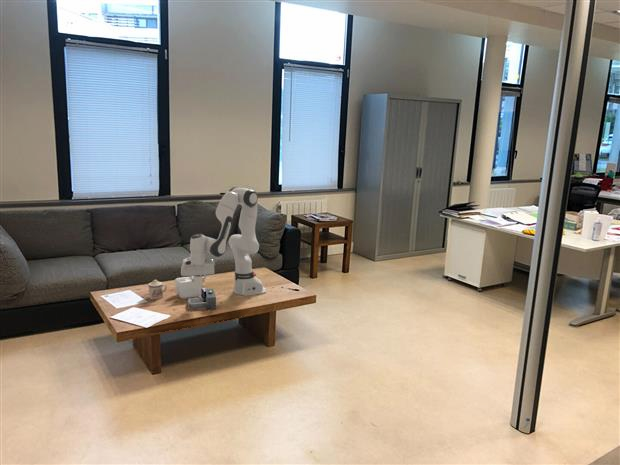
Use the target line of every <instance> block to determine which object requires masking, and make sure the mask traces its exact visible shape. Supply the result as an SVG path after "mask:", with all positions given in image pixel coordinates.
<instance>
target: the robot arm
mask: <svg viewBox="0 0 620 465" xmlns="http://www.w3.org/2000/svg"><path fill="white" fill-rule="evenodd" d="M238 205H241V210H240V215H239V221H238V229H239V230H240V233H241V234H239V233H237V234H236V233H235V234H232V235H231V231H232V229H233V224H234V220H233V218H234V214H235V212H236V210H237V207H238ZM215 216H216V218H217V220H218V221H219V222H220V224H221V228H220V231H219V234H218V237H217V239H216V238H212V237H211V236H210V237H209V236H206V235H204V234H203V233H195V234H192V236H191V237H190V240H189V241H190V242H189V243H190V244H189V250H190V256H189V257H186V258H184V259H182V264H181V268H180V275H181V277H190V279H191V282H194V279H192V276H194V275H202V276H203V277H202V283H204V282H205V279H206V277H207V276H210V275H214V274H215V272H216V271H215V265H216V262H215V260H213V259H206V254H209V255H212V256H214V257H215V258H216V257H217V258H218V257H221V256H223V255H225V253H226V251H227V246H228V245H229V247H230V249H231V251H232V253H233V257H234V265H235V271H234V286H233V288H232V293H233V294H236V295H240V296H244V297H247V296H254V295H255V296H256V295H261V294H266V292H267V288H266V287H265V286H263V282H262V281H261V280H260V279H259V278H257V277H256V276H257V273H255V272H254V271H253V269H252V268H253V264H252V263H253V261H252V258H251V257H250V255H256V253H258V252H259V249H260V243H259V242H258V239H257V235H256V224H257V218H258V193H257V192H256V191H255V190H254V189H251V188H247V187H238V186H233V187H232V188H230V189H229V190H228V191H226V192H225V193H224V194H223V196H221V199H220V201H219V203H218V205H217V206H216V209H215Z"/></svg>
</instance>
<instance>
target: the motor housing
mask: <svg viewBox="0 0 620 465" xmlns="http://www.w3.org/2000/svg"><path fill="white" fill-rule="evenodd" d="M204 292H206V302H203V298H202V297H189V298H187V305H188V309H189V311H191V310H198V309H199V310H201V309H207V311H210V310H217V296H216V293H215V291H214V288H205V289H204Z"/></svg>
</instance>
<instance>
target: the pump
mask: <svg viewBox="0 0 620 465" xmlns="http://www.w3.org/2000/svg"><path fill="white" fill-rule="evenodd" d="M193 277H194V288H201V289H202V288H203V283H204V282H202V278H203V275H194V276H193Z"/></svg>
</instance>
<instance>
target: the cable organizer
mask: <svg viewBox="0 0 620 465" xmlns="http://www.w3.org/2000/svg"><path fill="white" fill-rule="evenodd" d="M192 279H194V277H193V276H192ZM174 292H175V294H176V295H178V296H179V298H180V299H183V300H185V299H188V298H199V296H201V295H202V288H194V282H191V279H190V276H182V277H177V278H175V279H174Z"/></svg>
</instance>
